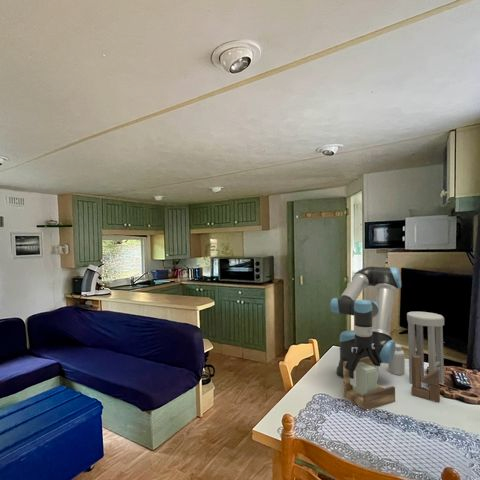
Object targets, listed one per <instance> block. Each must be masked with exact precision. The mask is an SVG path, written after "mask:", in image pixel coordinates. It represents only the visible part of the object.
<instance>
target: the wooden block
mask: <svg viewBox="0 0 480 480" xmlns="http://www.w3.org/2000/svg"><path fill="white" fill-rule="evenodd" d="M423 383H424V384H428V388H426V387H422V384H423ZM411 385H412V386H411V387H410V388H411V390H410V391H411V396H415V397H419V398H422V399H425V400H430V401H432V402H436V403H440V401H441V394H440V393H441V392H440V391H441V390H440V387H441V386H440V385H439V368H438V369H436V370H435V371H433V372H432V373H430V374H429V373H428V374H427V375H424V378H422V379H421V358H420V356H418V355H417V354H416V355H412V384H411Z"/></svg>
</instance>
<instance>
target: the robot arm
mask: <svg viewBox="0 0 480 480" xmlns="http://www.w3.org/2000/svg"><path fill="white" fill-rule="evenodd" d="M367 287H374V289H375V290H376V295H375V301H374V300H369V299H368V300H367V299H358V298H359V296H360V295H361V293H362V292H363V290H364V289H365V288H367ZM401 288H402V278H401V272H400V270H399V268H397V267H392V266H389V267H388V266H366V267H363V268H362V269H359V270H358V271H356V272H355V273H354V274H353V275H352V277H351V281H350V282H349V284H348V285H347V287H346V288H345V290H344V291H343V292H342V293H341V295H340V296H339V298H338V297H333V298H331V300H330V303H329V304H330V305H329V308H330V311H331V312H332V313H335V314H339V315H346V316H347V315H348V316H354V317H353V320H354V325H353V327H354V330H344V331H342V332H341V333H340V334H339V341H338V342H339V361H338V365H337V367H336V374H337V376H339V377H340V378H342V379H343V362H345V361H347V363H346V366H345V369H347V370H349V377H350V384H351V385H352V386H354V387H356V371H354V370H355V368H356V366H357V364H358V363H359V361H360V359H361V358H364V357H369V358H370V360H371V361H372V363H373V364H374V365H373V364H372V366H373V367H375V368H376V382H378V381H379V367H381V364H388V363H390V362H391V361H392V359H393V357H394V353H395V344H396V342H395V341H394V340H393V337H392V335H391V334H390V332H391V322H392V313H393V312H392V311H393V305H394V294H395V293H397V292H398V289H401Z"/></svg>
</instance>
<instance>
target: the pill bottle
mask: <svg viewBox="0 0 480 480" xmlns="http://www.w3.org/2000/svg"><path fill="white" fill-rule="evenodd" d="M405 354H406V353H405V351H404V350H403V347H402V345H401V344H398V343H395V353H394V357H393V359H392V361H391V362H390V363H387V364H388V371H389V373H390V374H392V375H395V376H396V375H397V376H404V375H405V374H406V373H405V372H406V371H405V370H406V367H405Z"/></svg>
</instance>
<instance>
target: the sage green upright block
mask: <svg viewBox="0 0 480 480" xmlns="http://www.w3.org/2000/svg"><path fill="white" fill-rule="evenodd" d="M354 371H356V387H354V386H353V391H355V392H357V393H358V394H360V395H362V396H363V394H367V393H370V392H374V391H377V385H378V384H377V381H376V368H375V367H373V366H370V365H368V364H366V363H364V362H359V363H358V364H357V366H356V368H355V370H354Z"/></svg>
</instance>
